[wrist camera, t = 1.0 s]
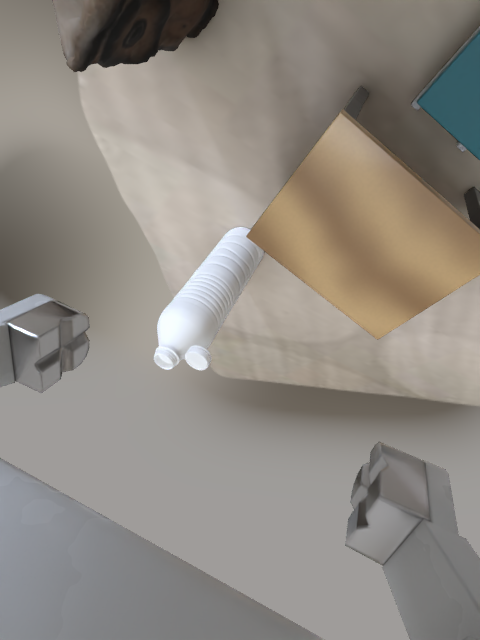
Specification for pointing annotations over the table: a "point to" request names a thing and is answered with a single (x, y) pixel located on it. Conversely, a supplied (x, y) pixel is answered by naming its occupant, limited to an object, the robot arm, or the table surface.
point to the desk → (369, 229)
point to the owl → (126, 28)
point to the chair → (457, 96)
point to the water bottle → (206, 302)
